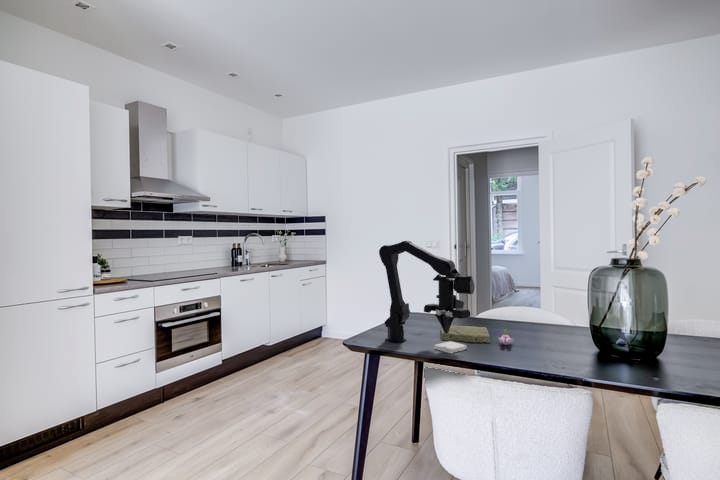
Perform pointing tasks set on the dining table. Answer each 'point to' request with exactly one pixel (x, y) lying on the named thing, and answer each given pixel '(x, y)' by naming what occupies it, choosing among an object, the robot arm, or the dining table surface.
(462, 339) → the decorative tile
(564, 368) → the dining table surface
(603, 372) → the dining table surface
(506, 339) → the pink bulbous piece
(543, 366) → the dining table surface
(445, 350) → the standing tile
